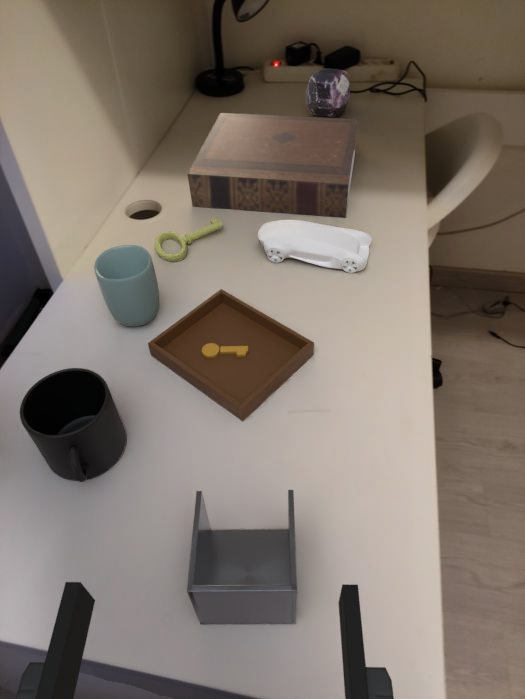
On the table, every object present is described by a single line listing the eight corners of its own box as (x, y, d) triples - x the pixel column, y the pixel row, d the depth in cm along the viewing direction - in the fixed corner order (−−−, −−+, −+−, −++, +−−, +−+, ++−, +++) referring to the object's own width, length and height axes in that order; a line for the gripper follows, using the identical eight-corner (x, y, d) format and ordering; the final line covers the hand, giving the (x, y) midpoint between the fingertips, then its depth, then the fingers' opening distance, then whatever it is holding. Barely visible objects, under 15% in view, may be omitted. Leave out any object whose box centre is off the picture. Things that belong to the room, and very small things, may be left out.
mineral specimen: (320, 121, 116) (313, 70, 112) (303, 122, 125) (295, 75, 121) (361, 112, 118) (355, 61, 113) (341, 113, 127) (335, 66, 123)
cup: (111, 302, 82) (93, 248, 74) (162, 294, 82) (150, 240, 75) (111, 338, 76) (92, 284, 69) (165, 329, 77) (153, 275, 70)
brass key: (202, 343, 74) (202, 345, 74) (201, 356, 72) (201, 358, 72) (248, 341, 73) (248, 344, 74) (247, 354, 72) (248, 357, 72)
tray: (150, 355, 74) (147, 343, 72) (222, 301, 81) (221, 288, 79) (242, 421, 66) (241, 409, 64) (313, 355, 73) (314, 342, 71)
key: (227, 231, 93) (226, 220, 91) (173, 266, 87) (171, 255, 85) (198, 216, 96) (197, 206, 95) (145, 249, 90) (142, 238, 89)
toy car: (371, 245, 89) (374, 222, 85) (364, 275, 84) (368, 251, 80) (265, 232, 92) (265, 209, 89) (253, 260, 87) (252, 237, 84)
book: (345, 217, 94) (348, 184, 90) (192, 206, 99) (187, 173, 94) (355, 150, 110) (358, 119, 106) (223, 143, 115) (220, 112, 110)
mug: (48, 512, 59) (17, 470, 52) (46, 425, 66) (19, 378, 60) (134, 488, 60) (115, 444, 53) (122, 406, 68) (104, 359, 61)
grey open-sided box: (296, 624, 50) (297, 590, 43) (200, 624, 50) (186, 591, 44) (292, 531, 56) (293, 489, 50) (207, 531, 56) (196, 490, 50)
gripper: (-246, 1367, 16) (1, 613, 30) (604, 1428, 15) (446, 618, 29) (-524, 1640, 11) (-62, 562, 25) (786, 1764, 10) (482, 566, 24)
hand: (213, 591), depth 27 cm, fingers open, 13 cm apart
